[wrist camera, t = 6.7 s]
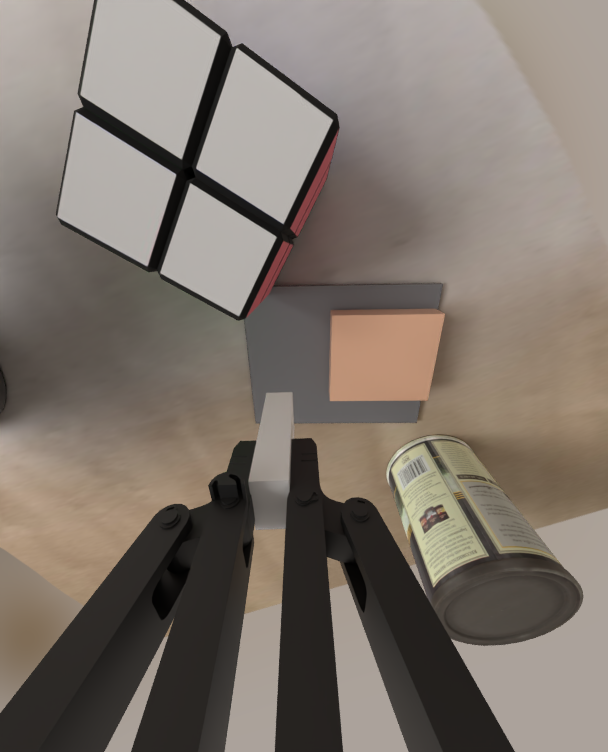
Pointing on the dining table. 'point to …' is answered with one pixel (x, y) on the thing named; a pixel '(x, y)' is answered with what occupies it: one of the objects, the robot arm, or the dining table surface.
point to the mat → (321, 348)
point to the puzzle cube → (191, 153)
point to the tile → (383, 354)
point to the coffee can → (476, 547)
